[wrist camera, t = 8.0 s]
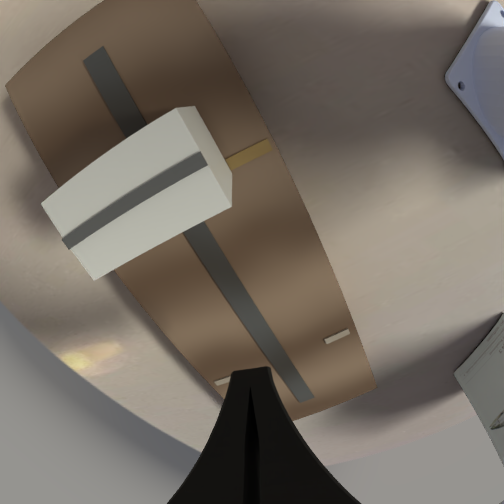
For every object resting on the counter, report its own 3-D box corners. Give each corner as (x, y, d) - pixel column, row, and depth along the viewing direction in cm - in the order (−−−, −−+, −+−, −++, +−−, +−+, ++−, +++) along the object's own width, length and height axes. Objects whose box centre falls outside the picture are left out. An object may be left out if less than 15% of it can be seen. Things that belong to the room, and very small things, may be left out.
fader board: (368, 367, 21) (377, 388, 19) (256, 410, 22) (257, 432, 20) (178, -23, 10) (170, -39, 8) (27, 84, 11) (3, 85, 9)
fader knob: (232, 173, 12) (231, 207, 8) (128, 231, 13) (92, 282, 9) (194, 105, 11) (175, 107, 7) (90, 172, 12) (39, 204, 8)
